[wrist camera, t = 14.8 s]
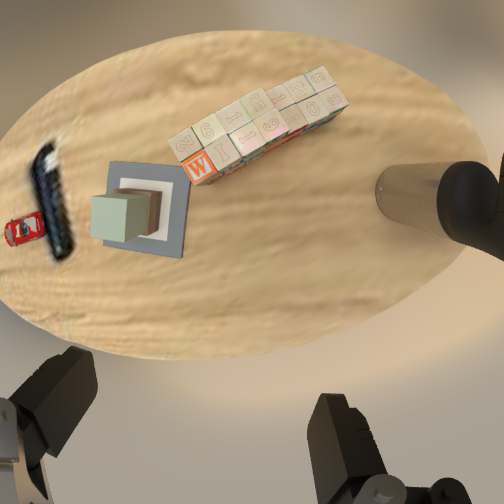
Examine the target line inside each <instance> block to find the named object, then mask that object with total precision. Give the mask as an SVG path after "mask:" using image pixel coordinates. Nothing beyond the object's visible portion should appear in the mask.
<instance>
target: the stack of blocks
mask: <svg viewBox="0 0 504 504" xmlns="http://www.w3.org/2000/svg"><path fill="white" fill-rule="evenodd" d="M348 105H349V104H348V102H347V100H346V99H345V97H344V95H343V94H342V92H341V91H340V89H339V87H338V86H337V85H336V84H335V82H334V80H333V79H332V77H331V76H330V74H329V73H328V71H327V70H326V69H325V67H324V66H321V67H319V68H317V69H314V70H312V71H310V72H307V73H306V74H302V75H300V76H298V77H295V78H293V79H291V80H289V81H287V82H285V83H283V84H280V85H278V86H276V87H274V88H272V89H270V90H268V91H266V92H265V91H264V89H263V88H262V87H259V88H257V89H256V90H254V91H252V92H250V93H248V94H246V95H244V96H242V97H241V98H239V99H238V100H236V101H234V102H233V103H231V104H229V105H227V106H226V107H224V108H222V109H220V110H219V111H217V112H216V113H212V114H210V115H208V116H207V117H205V118H203V119H202V120H200V121H198V122H197V123H195V124H193V125H192V126H191V127H188V128H186V129H185V130H183V131H182V132H180V133H178V134H177V135H175V136H174V137H172V138H171V139H169V140H168V142H169V144H170V146H171V148H172V149H173V151H174V153H175V155H176V157H177V158H178V160H179V162H181V165H182V167H183V168H184V170H185V172H186V174H187V175H188V177H189V179H190V180H191V182H192V184H193V185H194V186H198V185H199V186H200V185H205V184H208V185H209V184H212V183H214V182H216V181H217V180H219V179H221V178H223V177H224V176H226V175H229V174H231V173H232V172H234V171H236V170H238V169H239V168H241V167H243V166H245V165H246V164H248V163H250V162H252V161H254V160H256V159H258V158H259V157H261V156H263V155H264V154H265V153H267V152H269V151H271V150H273V149H274V148H276V147H278V146H280V145H281V144H283V143H285V142H287V141H289V140H291V139H293V138H295V137H297V136H300V135H302V134H304V133H307V132H309V131H311V130H313V129H315V128H316V127H318V126H320V125H322V124H324V123H326V122H328V121H330V120H332V119H333V118H334V117H336V116H337V115H338V114H339V113H341V112H342V111H343V109H344V108H345V107H346V106H348Z"/></svg>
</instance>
